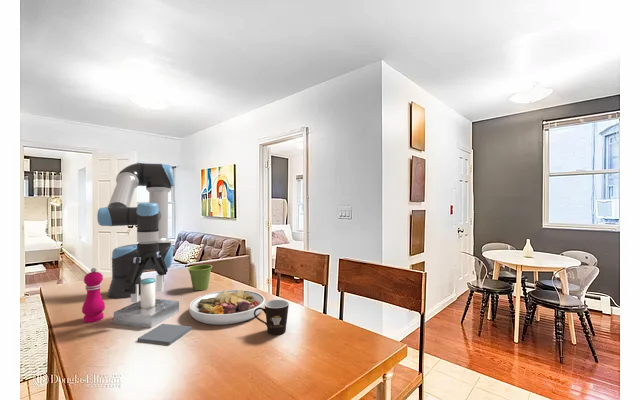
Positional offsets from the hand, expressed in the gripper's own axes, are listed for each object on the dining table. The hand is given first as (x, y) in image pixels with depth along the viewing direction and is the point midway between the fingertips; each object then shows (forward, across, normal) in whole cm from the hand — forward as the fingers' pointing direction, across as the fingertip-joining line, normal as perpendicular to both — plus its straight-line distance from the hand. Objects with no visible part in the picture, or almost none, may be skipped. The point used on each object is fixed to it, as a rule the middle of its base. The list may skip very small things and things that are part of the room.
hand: (148, 296), depth 123 cm
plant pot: (+9, -38, -1) cm, 39 cm away
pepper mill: (+9, +6, -19) cm, 22 cm away
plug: (+8, 0, 0) cm, 9 cm away
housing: (+8, 0, 0) cm, 9 cm away
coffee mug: (+9, +1, +52) cm, 53 cm away
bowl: (+9, -12, +28) cm, 32 cm away
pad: (+9, +12, +17) cm, 22 cm away
